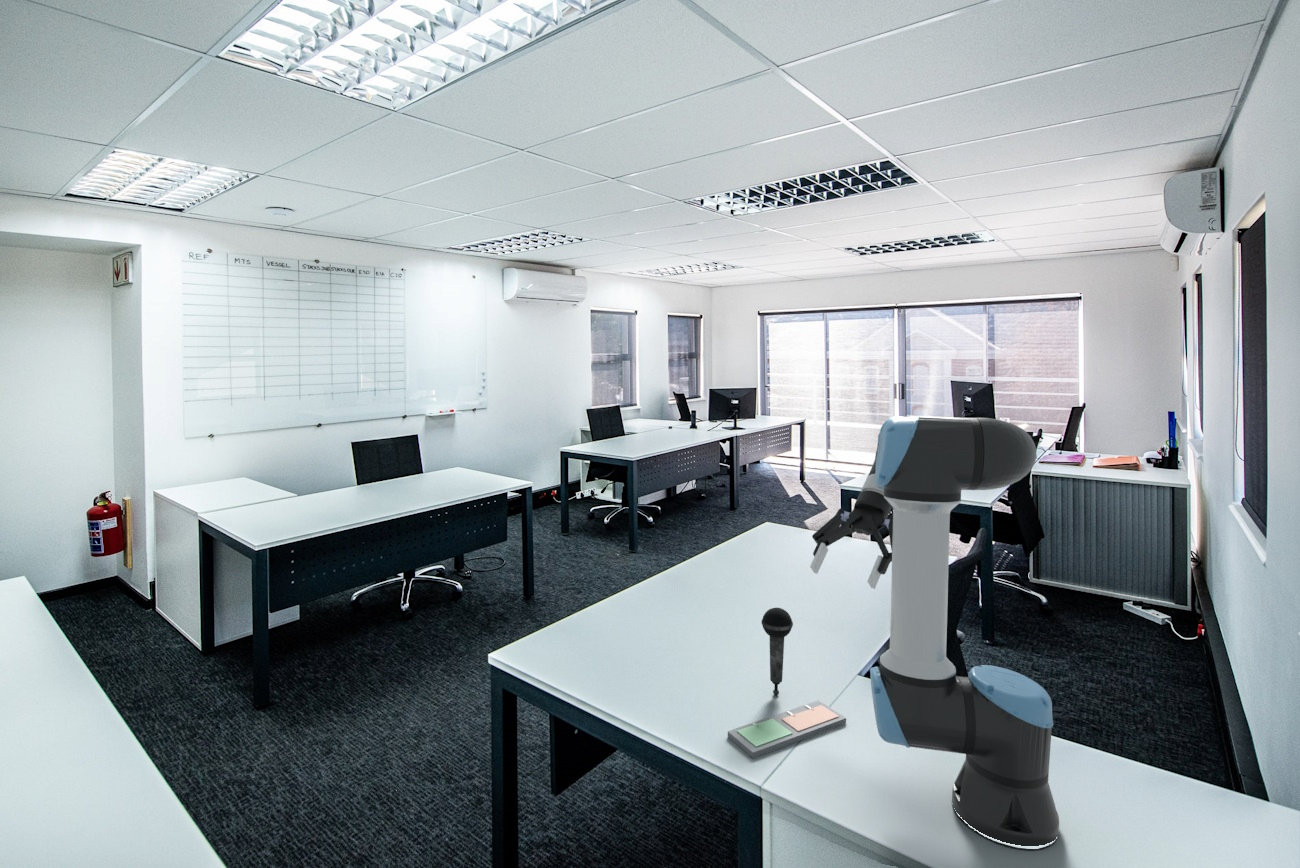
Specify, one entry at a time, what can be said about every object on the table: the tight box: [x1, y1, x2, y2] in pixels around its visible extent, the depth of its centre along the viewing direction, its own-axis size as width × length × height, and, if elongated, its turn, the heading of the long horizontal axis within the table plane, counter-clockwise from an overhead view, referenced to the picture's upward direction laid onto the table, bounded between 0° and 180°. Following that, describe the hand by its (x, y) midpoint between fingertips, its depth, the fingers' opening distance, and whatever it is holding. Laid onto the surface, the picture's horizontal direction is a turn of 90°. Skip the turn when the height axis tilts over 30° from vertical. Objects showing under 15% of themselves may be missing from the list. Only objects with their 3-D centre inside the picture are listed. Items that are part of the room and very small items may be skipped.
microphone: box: [761, 607, 794, 696], centre depth 140 cm, size 7×7×20 cm
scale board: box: [727, 699, 847, 759], centre depth 127 cm, size 8×24×1 cm, turn 119°
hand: (841, 577), depth 136 cm, fingers open, 13 cm apart
